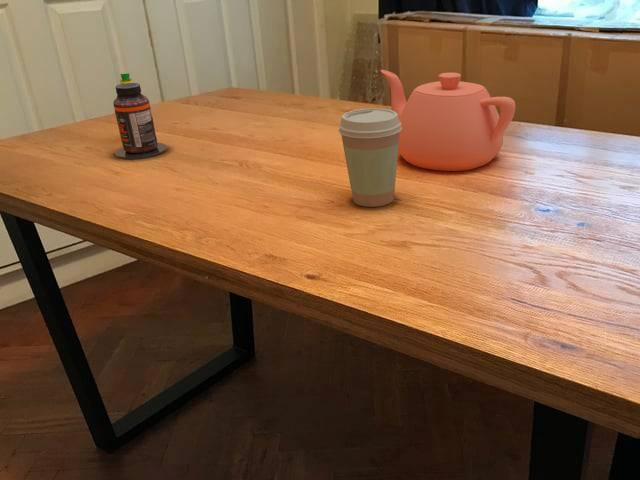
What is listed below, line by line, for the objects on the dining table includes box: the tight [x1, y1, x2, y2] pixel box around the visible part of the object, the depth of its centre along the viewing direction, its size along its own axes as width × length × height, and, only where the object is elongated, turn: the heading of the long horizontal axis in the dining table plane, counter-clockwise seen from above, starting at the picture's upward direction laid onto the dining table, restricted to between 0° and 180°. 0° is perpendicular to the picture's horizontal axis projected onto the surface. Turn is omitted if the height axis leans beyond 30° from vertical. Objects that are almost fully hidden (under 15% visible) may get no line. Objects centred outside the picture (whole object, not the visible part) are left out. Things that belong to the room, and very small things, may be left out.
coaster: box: [114, 142, 169, 160], centre depth 118 cm, size 9×9×1 cm
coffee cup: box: [338, 107, 402, 208], centre depth 91 cm, size 8×8×12 cm
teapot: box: [380, 69, 517, 172], centre depth 107 cm, size 25×17×13 cm
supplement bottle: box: [113, 82, 159, 153], centre depth 115 cm, size 6×6×11 cm
